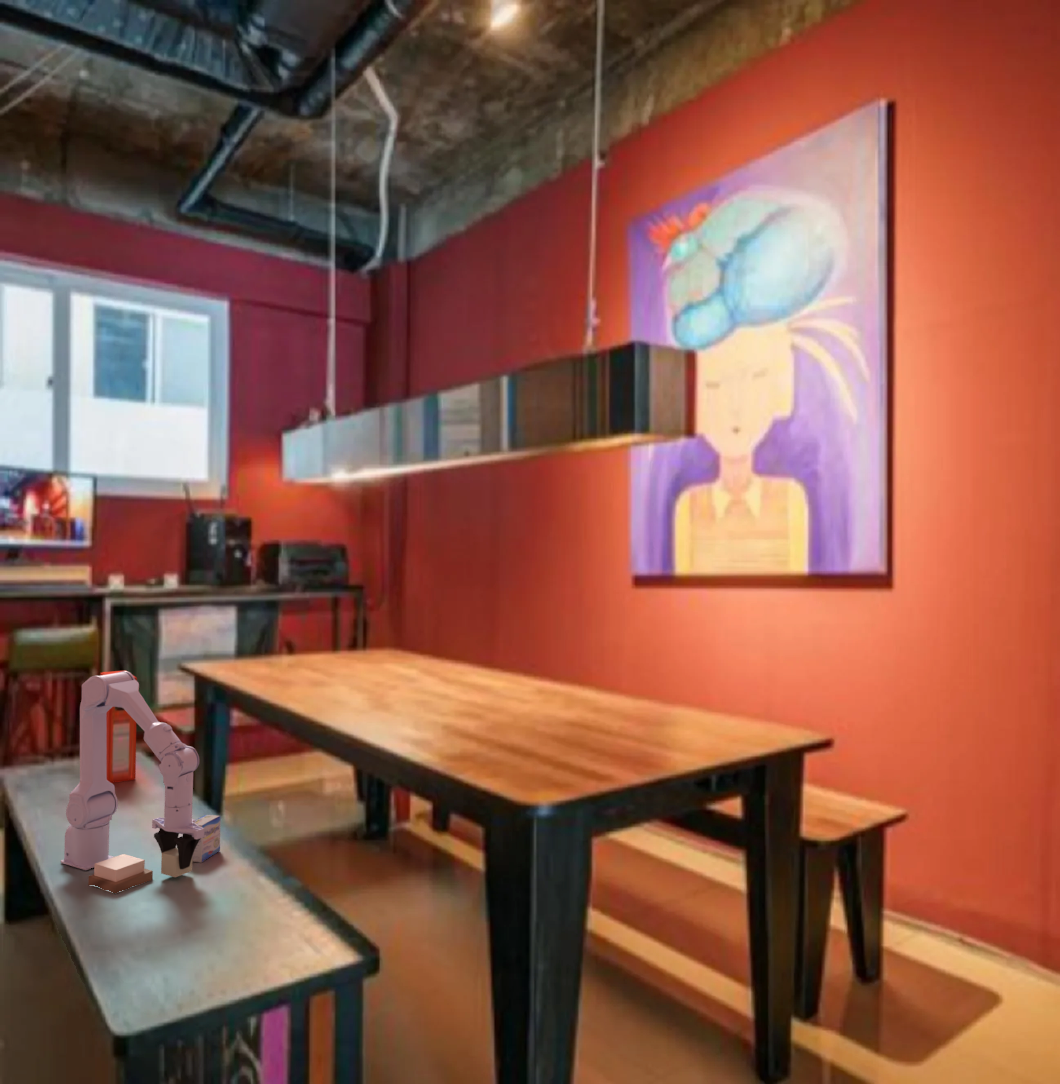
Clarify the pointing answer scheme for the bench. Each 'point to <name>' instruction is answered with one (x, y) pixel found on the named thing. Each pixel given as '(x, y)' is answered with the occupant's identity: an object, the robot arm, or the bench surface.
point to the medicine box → (207, 838)
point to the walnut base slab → (121, 881)
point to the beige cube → (173, 864)
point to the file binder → (120, 743)
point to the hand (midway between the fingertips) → (176, 865)
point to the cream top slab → (119, 867)
